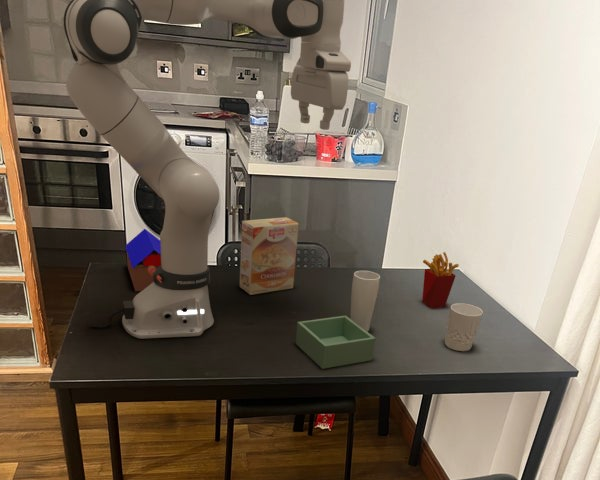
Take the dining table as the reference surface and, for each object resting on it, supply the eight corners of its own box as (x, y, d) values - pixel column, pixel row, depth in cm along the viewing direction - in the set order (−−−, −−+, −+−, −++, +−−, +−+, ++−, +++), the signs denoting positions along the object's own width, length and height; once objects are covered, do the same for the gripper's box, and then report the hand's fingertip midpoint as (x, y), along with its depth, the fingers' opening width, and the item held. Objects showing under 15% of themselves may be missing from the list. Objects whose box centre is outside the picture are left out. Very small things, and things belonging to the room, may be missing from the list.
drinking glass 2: (371, 326, 159) (380, 271, 152) (371, 336, 154) (380, 281, 146) (346, 323, 160) (353, 268, 152) (345, 333, 154) (353, 277, 146)
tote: (322, 369, 136) (325, 346, 133) (295, 343, 146) (297, 321, 143) (372, 360, 142) (375, 338, 139) (343, 336, 152) (345, 315, 149)
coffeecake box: (250, 295, 171) (253, 227, 161) (238, 286, 176) (240, 220, 166) (294, 288, 178) (299, 222, 168) (281, 280, 183) (286, 216, 173)
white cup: (440, 337, 157) (448, 301, 151) (469, 340, 157) (478, 304, 152) (445, 351, 150) (453, 314, 145) (476, 353, 150) (486, 317, 145)
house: (166, 265, 186) (165, 228, 180) (177, 289, 170) (176, 249, 164) (126, 267, 182) (123, 228, 176) (134, 291, 166) (131, 250, 160)
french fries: (449, 307, 175) (460, 257, 168) (425, 310, 172) (436, 259, 165) (432, 296, 182) (442, 248, 174) (409, 298, 179) (419, 249, 171)
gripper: (286, 54, 141) (282, 119, 148) (330, 61, 126) (324, 133, 133) (309, 56, 143) (305, 119, 151) (355, 63, 128) (348, 133, 135)
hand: (314, 126), depth 141 cm, fingers open, 8 cm apart
